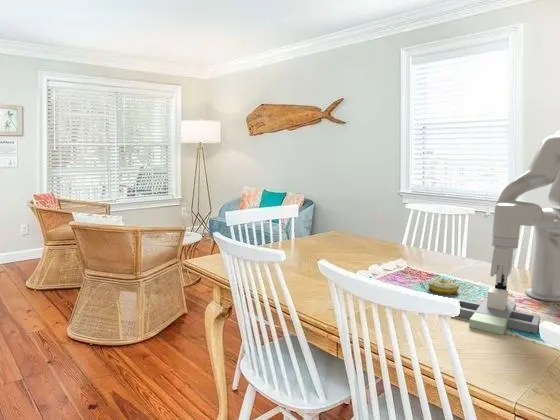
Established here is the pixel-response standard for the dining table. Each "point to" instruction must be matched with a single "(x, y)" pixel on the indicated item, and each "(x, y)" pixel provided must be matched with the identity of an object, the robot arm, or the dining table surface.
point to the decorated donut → (443, 286)
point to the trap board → (497, 317)
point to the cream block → (497, 298)
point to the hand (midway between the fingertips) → (499, 296)
